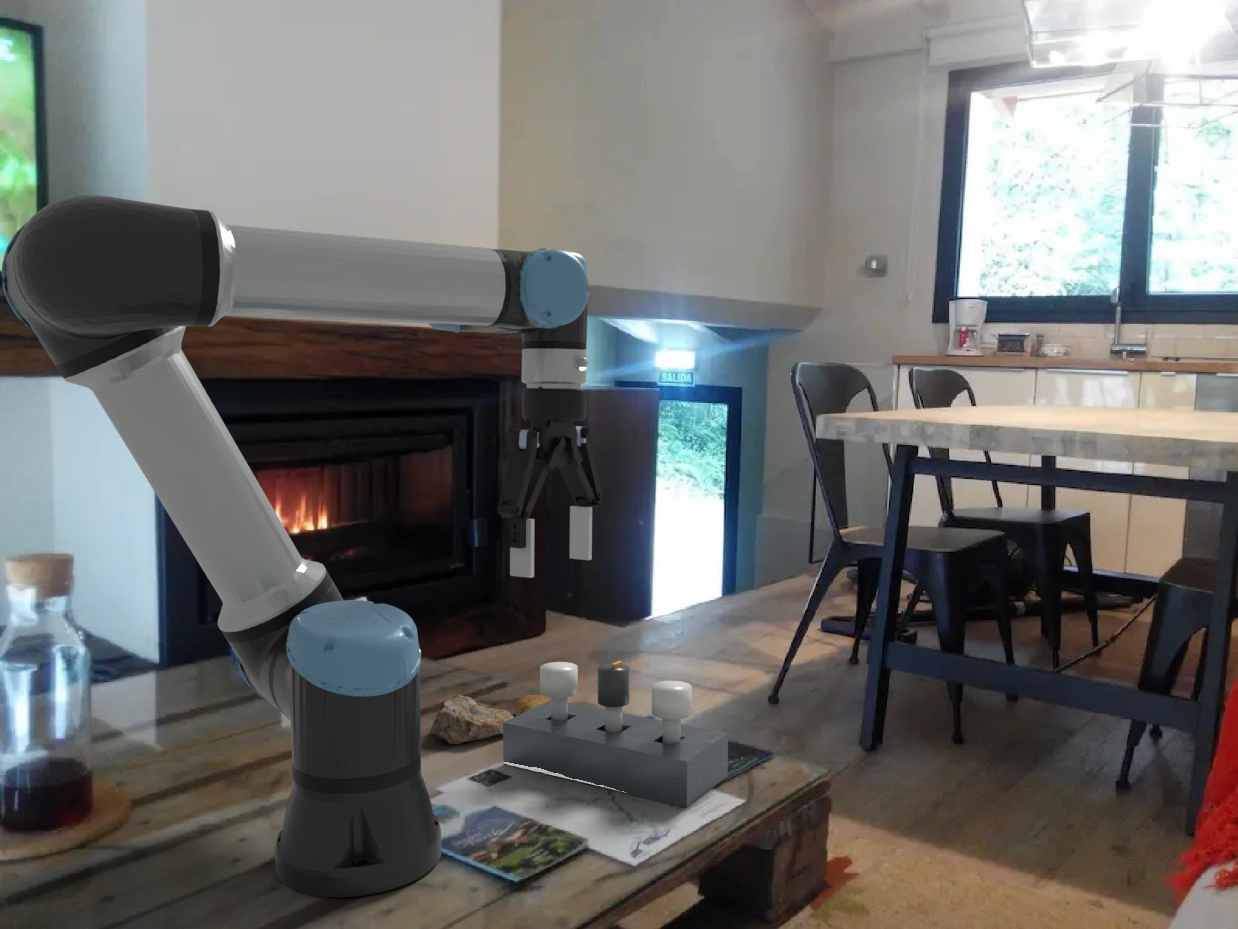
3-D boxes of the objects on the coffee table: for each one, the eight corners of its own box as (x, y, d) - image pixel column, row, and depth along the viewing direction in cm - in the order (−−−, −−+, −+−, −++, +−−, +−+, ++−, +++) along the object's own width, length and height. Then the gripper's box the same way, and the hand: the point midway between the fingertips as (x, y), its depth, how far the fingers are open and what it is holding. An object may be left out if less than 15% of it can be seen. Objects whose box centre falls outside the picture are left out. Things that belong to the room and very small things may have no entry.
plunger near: (679, 763, 113) (680, 694, 113) (644, 755, 116) (644, 688, 115) (698, 750, 117) (698, 684, 116) (663, 743, 119) (663, 678, 119)
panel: (727, 776, 119) (728, 733, 118) (686, 808, 110) (687, 761, 110) (552, 738, 131) (552, 699, 131) (503, 764, 122) (502, 722, 122)
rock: (428, 750, 128) (509, 735, 128) (421, 701, 129) (501, 686, 129) (445, 743, 137) (520, 729, 136) (438, 697, 138) (512, 683, 137)
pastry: (504, 714, 141) (504, 686, 141) (551, 708, 144) (551, 681, 144) (527, 736, 133) (527, 706, 132) (576, 729, 135) (576, 700, 135)
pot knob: (619, 748, 118) (618, 670, 117) (591, 742, 120) (591, 666, 119) (635, 738, 121) (635, 662, 120) (608, 733, 123) (608, 658, 122)
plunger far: (564, 738, 121) (563, 674, 120) (533, 731, 123) (532, 669, 123) (585, 727, 125) (584, 665, 124) (554, 721, 127) (554, 660, 126)
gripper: (524, 386, 110) (523, 588, 111) (630, 387, 132) (628, 555, 134) (465, 385, 113) (465, 581, 115) (577, 386, 135) (576, 550, 137)
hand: (552, 567), depth 124 cm, fingers open, 13 cm apart
